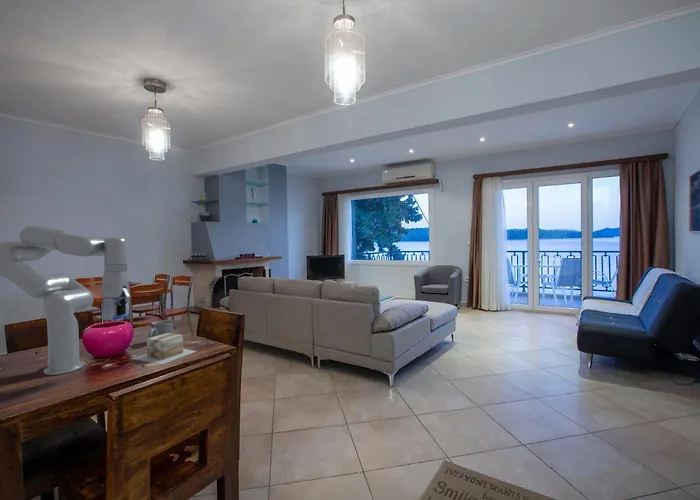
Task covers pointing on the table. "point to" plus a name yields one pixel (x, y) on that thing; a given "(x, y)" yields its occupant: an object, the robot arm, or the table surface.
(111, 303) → the medicine box
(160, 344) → the birch slab
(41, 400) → the table surface
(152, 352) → the oak slab
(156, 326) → the coffee mug
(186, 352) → the base board
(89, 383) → the table surface
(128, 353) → the table surface
